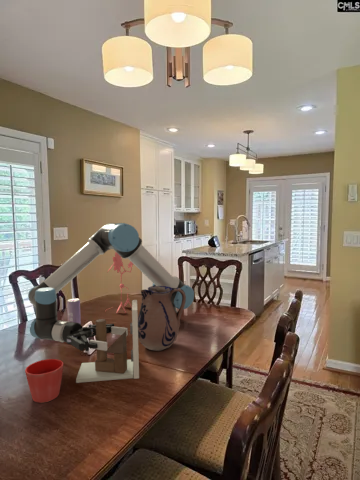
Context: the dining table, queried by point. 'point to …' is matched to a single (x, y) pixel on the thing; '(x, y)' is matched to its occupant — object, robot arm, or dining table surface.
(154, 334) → the ceramic pitcher
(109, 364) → the wooden block
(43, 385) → the flower pot
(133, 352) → the white l-shaped bracket
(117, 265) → the figurine
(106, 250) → the robot arm
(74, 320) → the beverage can
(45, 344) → the dining table surface
